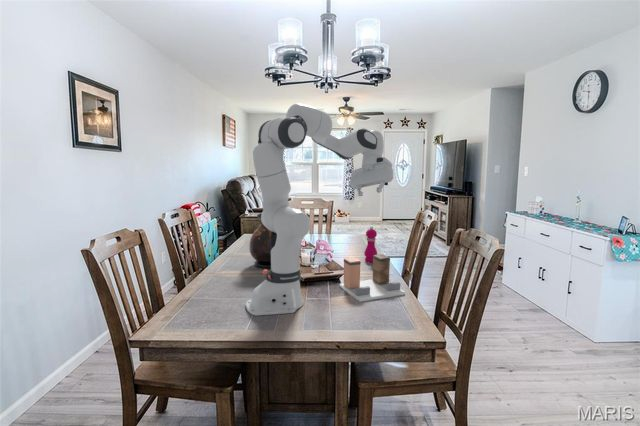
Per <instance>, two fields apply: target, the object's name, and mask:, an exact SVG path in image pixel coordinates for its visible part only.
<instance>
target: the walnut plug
mask: <svg viewBox="0 0 640 426" xmlns="http://www.w3.org/2000/svg"><path fill="white" fill-rule="evenodd" d="M390 262H391V258H390V256H388V255H386V254H383V253H382V254H377V255H373V263H372V279H373V281H375V282H376V283H378V284H386V283H390V266H391V265H390V264H391V263H390Z"/></svg>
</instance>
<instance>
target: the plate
mask: <svg viewBox="0 0 640 426" xmlns="http://www.w3.org/2000/svg"><path fill="white" fill-rule="evenodd" d="M339 287H340V289H342V290H343V291H345V292H346V293H347V294H349V295H350V296H352V297H353V298H354V299H355V300H357V301H358V302H359V303H360V302H366V301H367V302H368V301H373V300H379V299H385V298H391V297H398V296H403V295H406V291H405V290H403V289H401V282H400V281H396V282H395V281H394V282H389V283H386V284H378V283H376V282H375V281H373V278H371V279H366V280H365V279H364V280H360V287H359V288H352V289H349V288H348V287H346V286H345V285H344V282H342V283H339Z"/></svg>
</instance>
